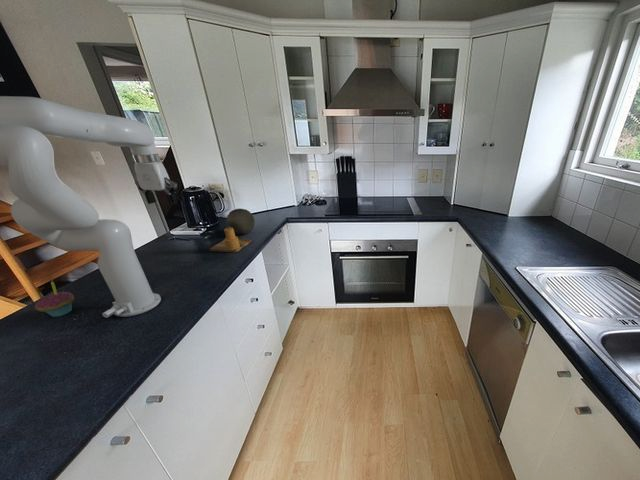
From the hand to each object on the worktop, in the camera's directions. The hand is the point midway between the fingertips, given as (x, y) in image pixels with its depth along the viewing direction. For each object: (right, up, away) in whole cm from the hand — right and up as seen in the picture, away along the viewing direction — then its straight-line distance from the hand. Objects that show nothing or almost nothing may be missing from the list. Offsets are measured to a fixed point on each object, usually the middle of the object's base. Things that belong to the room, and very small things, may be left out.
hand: (163, 203), depth 111 cm
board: (+10, -16, +31) cm, 37 cm away
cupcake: (-19, -41, -19) cm, 49 cm away
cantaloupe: (+9, -9, +46) cm, 48 cm away
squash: (+14, -17, +27) cm, 35 cm away
